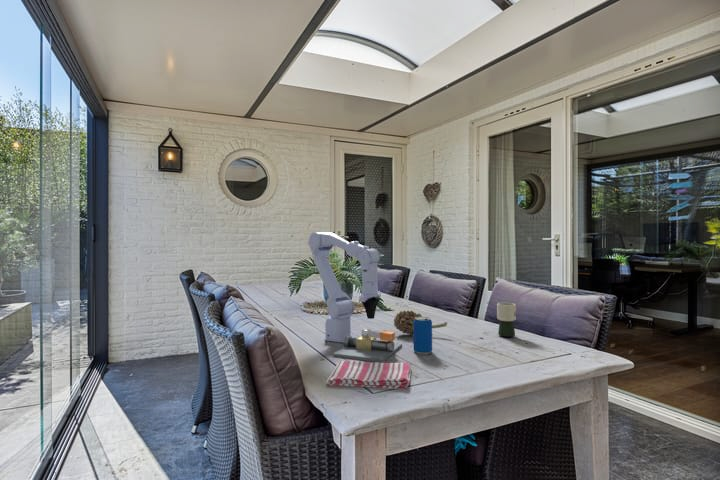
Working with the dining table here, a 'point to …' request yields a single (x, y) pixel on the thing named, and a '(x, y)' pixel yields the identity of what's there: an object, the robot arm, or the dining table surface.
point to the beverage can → (422, 335)
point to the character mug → (506, 318)
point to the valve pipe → (369, 343)
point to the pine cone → (409, 322)
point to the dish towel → (370, 374)
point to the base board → (366, 353)
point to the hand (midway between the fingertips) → (370, 318)
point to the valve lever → (378, 334)
